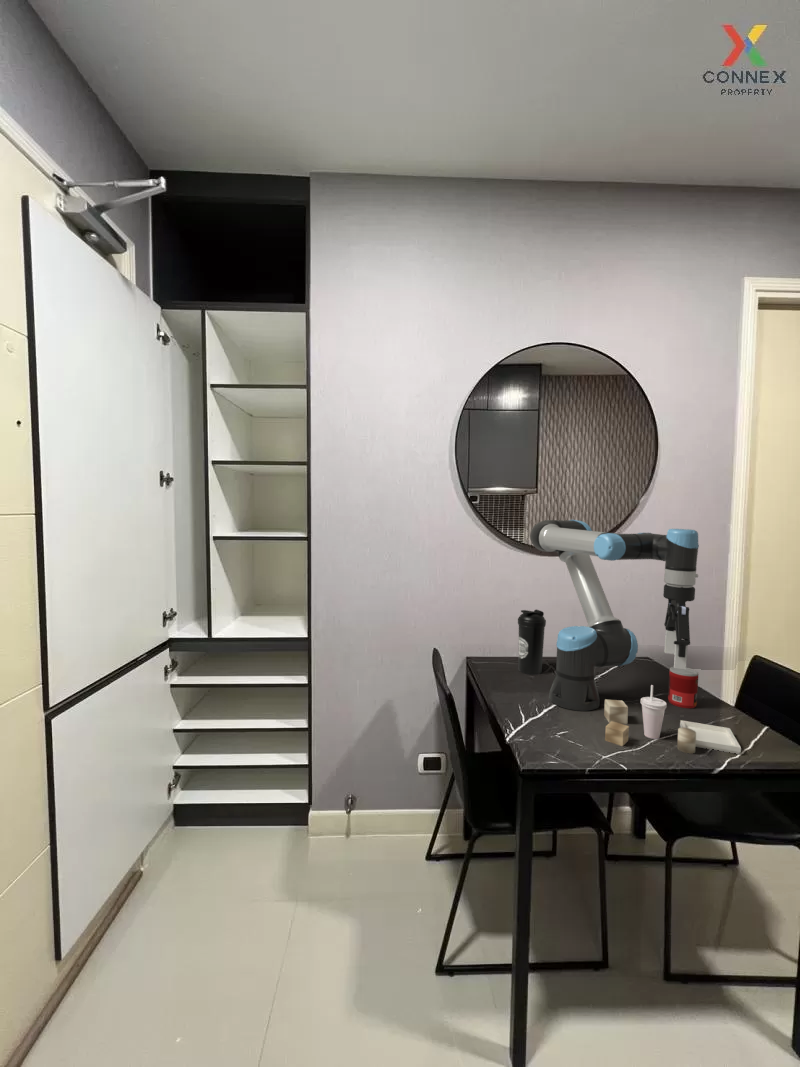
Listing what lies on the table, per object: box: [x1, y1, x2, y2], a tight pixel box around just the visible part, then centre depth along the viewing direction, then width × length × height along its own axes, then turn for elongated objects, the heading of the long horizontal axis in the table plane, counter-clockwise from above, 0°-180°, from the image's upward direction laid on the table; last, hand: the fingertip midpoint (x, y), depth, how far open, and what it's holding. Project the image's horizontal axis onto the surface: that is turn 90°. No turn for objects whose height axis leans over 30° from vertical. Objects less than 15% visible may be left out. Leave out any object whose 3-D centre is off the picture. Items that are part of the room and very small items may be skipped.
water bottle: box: [517, 609, 547, 676], centre depth 185 cm, size 10×10×23 cm
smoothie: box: [640, 684, 668, 740], centre depth 134 cm, size 6×6×14 cm
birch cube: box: [603, 698, 629, 725], centre depth 144 cm, size 5×5×5 cm
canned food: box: [667, 666, 699, 709], centre depth 157 cm, size 8×8×11 cm
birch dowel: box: [676, 727, 696, 755], centre depth 127 cm, size 4×4×5 cm
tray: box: [679, 719, 742, 755], centre depth 133 cm, size 12×12×2 cm
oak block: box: [604, 721, 630, 747], centre depth 131 cm, size 4×4×4 cm
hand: (674, 660), depth 137 cm, fingers open, 13 cm apart
